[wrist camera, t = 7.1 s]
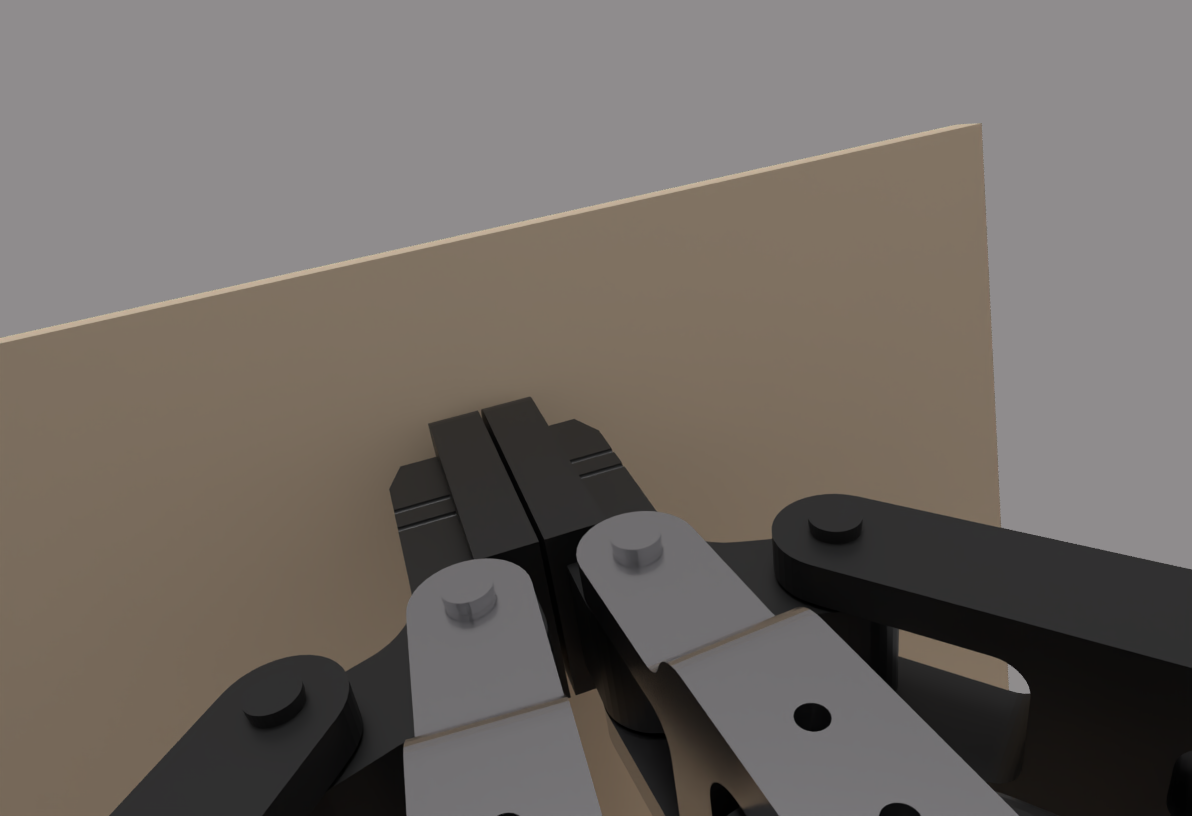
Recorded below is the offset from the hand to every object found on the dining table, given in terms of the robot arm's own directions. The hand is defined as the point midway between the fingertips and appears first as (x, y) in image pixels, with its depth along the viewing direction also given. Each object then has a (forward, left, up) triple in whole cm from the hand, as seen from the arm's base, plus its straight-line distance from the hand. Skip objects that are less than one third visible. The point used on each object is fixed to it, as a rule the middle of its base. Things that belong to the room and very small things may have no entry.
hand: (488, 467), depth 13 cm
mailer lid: (0, 0, -3) cm, 3 cm away
